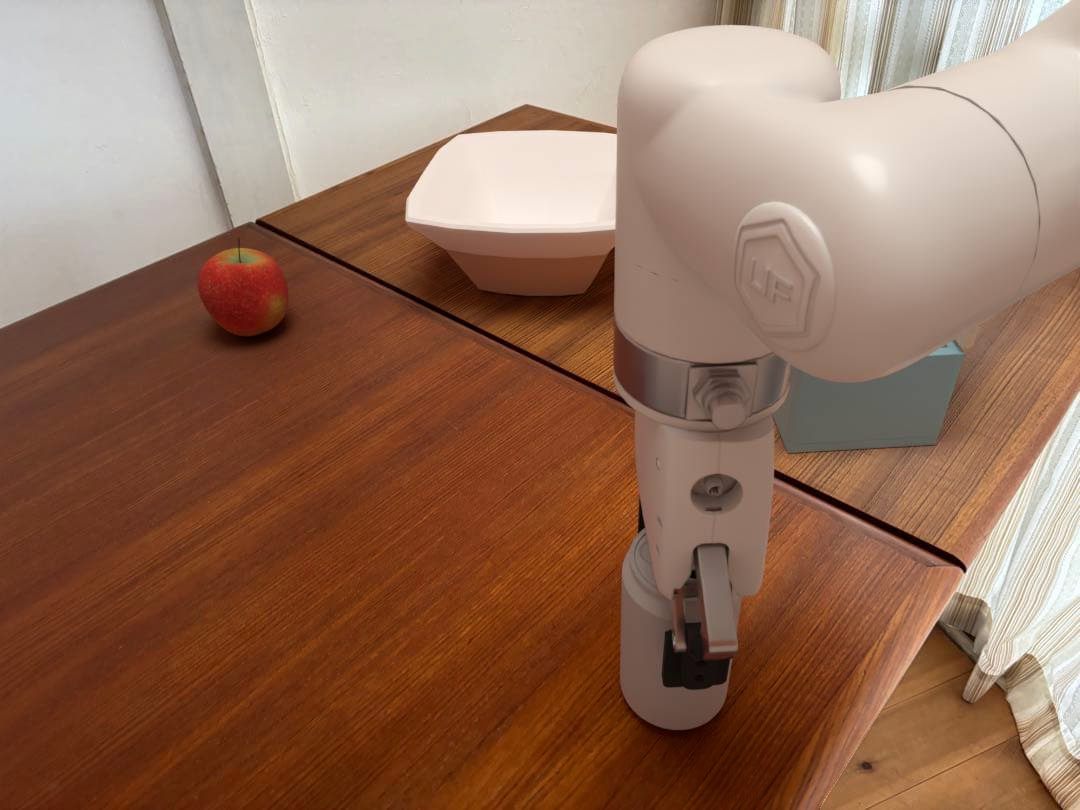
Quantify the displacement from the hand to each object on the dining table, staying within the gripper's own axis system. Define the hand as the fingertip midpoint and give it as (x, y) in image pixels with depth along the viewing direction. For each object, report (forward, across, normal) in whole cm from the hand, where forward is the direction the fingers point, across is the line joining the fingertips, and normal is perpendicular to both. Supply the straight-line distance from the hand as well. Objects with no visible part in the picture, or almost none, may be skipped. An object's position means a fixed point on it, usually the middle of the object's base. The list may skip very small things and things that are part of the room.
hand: (677, 604), depth 46 cm
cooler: (+8, +26, -18) cm, 33 cm away
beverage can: (+8, 0, 0) cm, 8 cm away
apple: (+8, +43, +35) cm, 56 cm away
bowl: (+8, +52, +6) cm, 54 cm away
